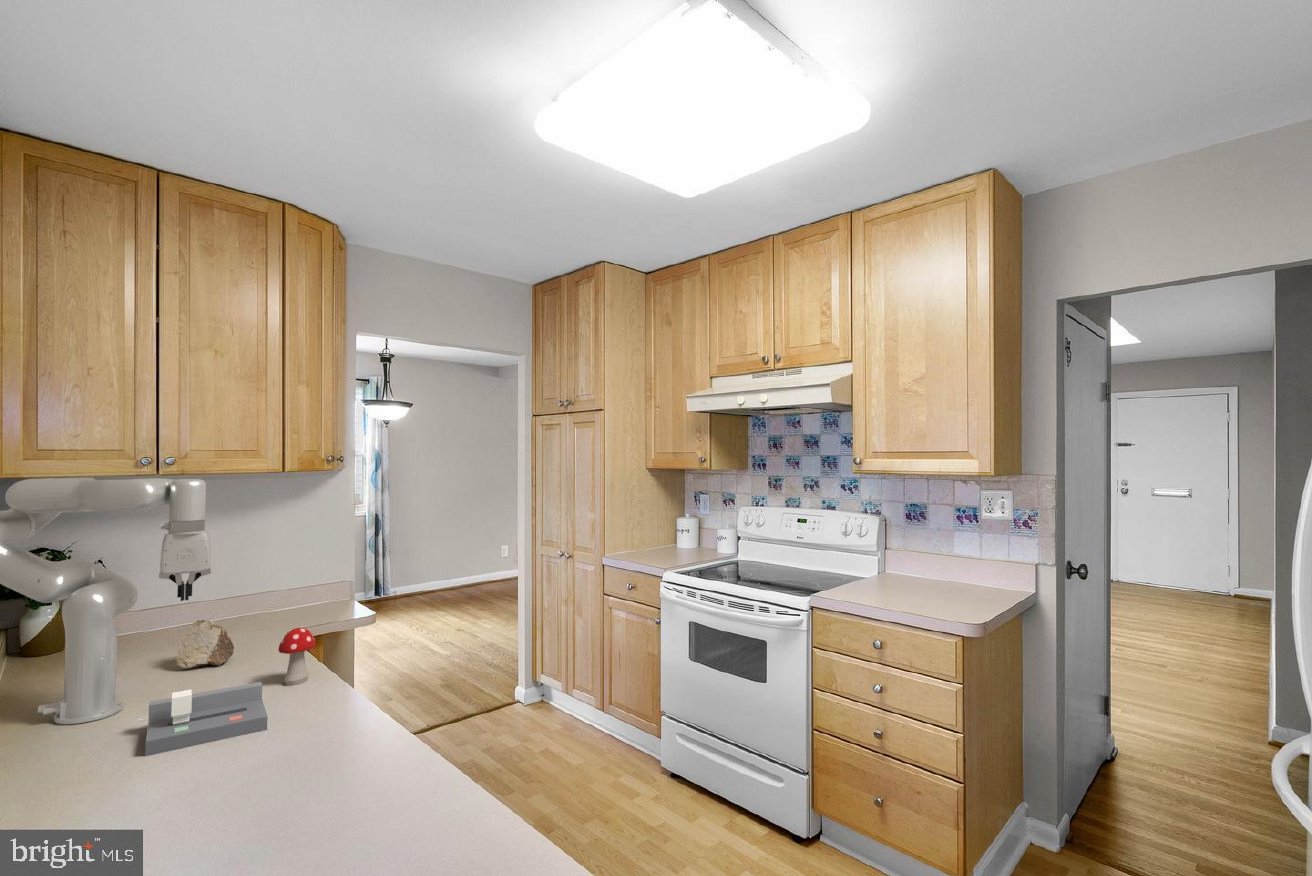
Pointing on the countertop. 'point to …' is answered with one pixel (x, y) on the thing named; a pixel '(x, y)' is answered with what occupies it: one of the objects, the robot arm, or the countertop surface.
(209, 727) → the panel
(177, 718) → the knob
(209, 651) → the rock
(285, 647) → the decorative mushroom
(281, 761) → the countertop surface
